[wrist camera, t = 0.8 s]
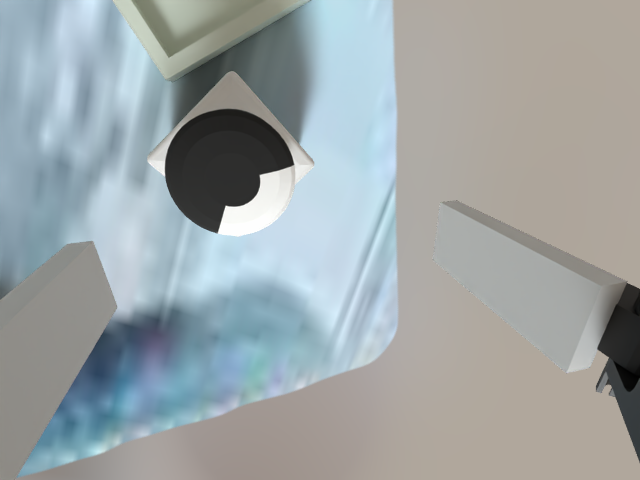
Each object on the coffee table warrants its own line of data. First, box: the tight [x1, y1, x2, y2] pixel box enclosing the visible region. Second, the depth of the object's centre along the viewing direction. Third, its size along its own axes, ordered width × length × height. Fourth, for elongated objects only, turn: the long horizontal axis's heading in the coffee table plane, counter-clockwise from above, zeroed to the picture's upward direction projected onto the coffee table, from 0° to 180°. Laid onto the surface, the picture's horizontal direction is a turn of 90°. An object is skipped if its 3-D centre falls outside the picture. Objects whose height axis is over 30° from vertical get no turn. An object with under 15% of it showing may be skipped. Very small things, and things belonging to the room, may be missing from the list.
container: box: [147, 71, 314, 237], centre depth 21 cm, size 8×8×13 cm
